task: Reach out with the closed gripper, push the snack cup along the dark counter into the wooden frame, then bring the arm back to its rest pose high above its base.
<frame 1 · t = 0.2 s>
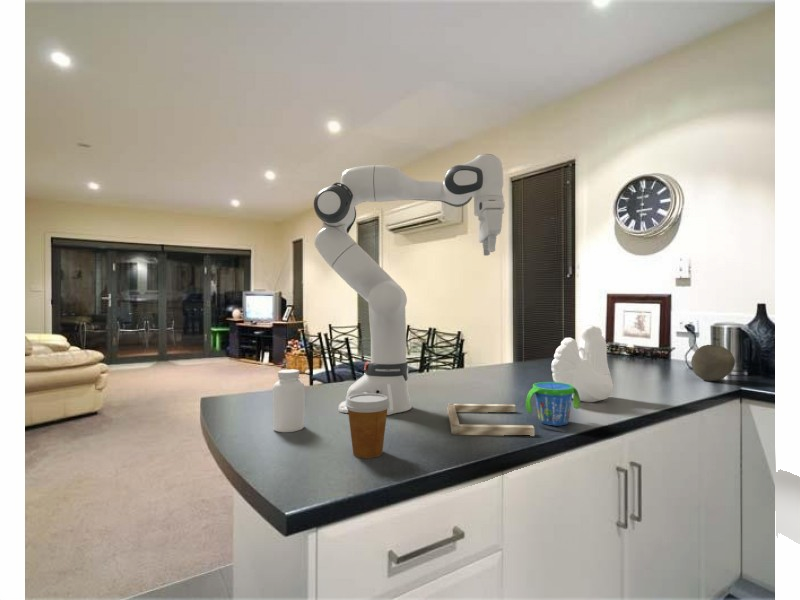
hand: (489, 253, 130), 48 cm above the counter, tool pointing down, fingers open, 8 cm apart
disposable coffee cup: (367, 454, 92), on the counter
cantaloupe: (712, 381, 176), on the counter
pill bottle: (288, 429, 110), on the counter
snack cup: (553, 423, 115), on the counter
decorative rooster: (577, 400, 142), on the counter
wooden frame: (486, 421, 116), on the counter
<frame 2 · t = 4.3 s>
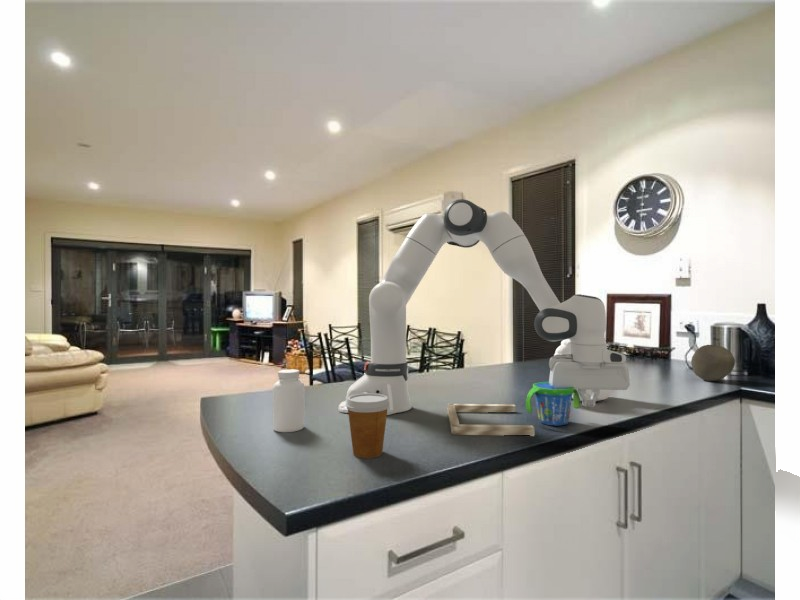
hand: (588, 405, 114), 5 cm above the counter, tool pointing down, fingers closed
snack cup: (553, 423, 115), on the counter, touching gripper
everything else where it was.
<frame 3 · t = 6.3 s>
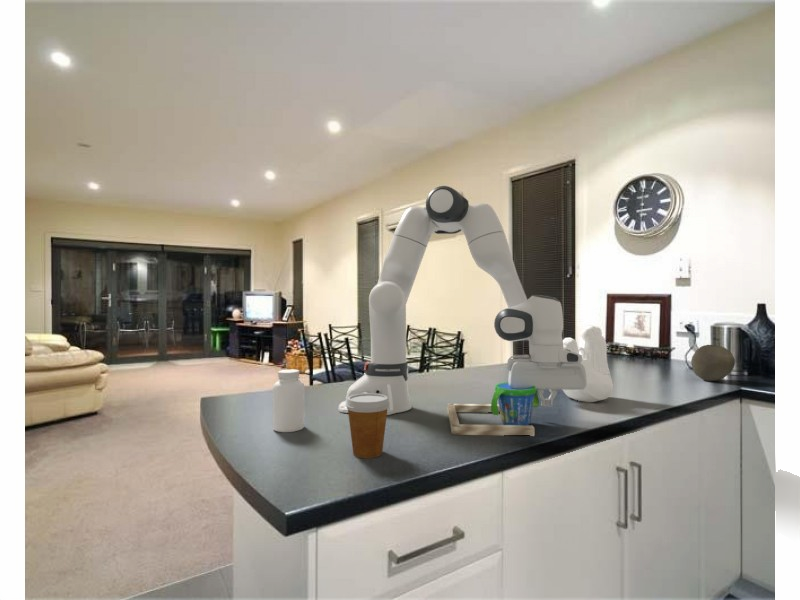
hand: (546, 405, 115), 5 cm above the counter, tool pointing down, fingers closed
snack cup: (515, 424, 114), on the counter, touching gripper
everything else where it was.
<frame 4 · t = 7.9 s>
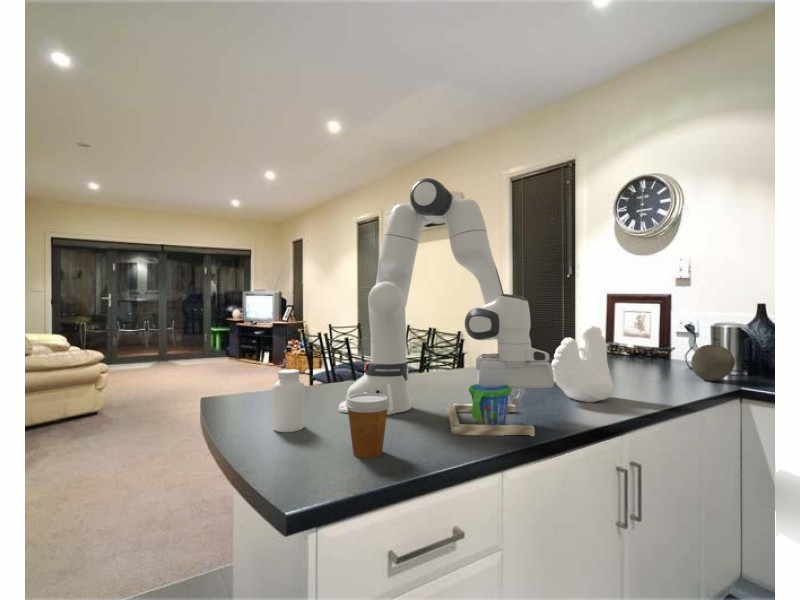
hand: (515, 404, 116), 5 cm above the counter, tool pointing down, fingers closed
snack cup: (491, 425, 113), on the counter, touching gripper
everything else where it was.
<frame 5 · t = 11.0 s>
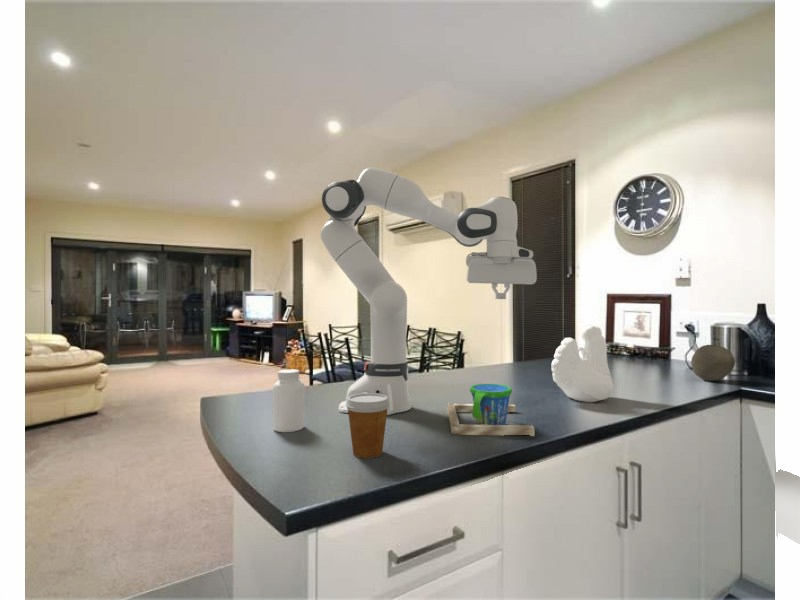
hand: (500, 299, 126), 34 cm above the counter, tool pointing down, fingers closed
snack cup: (490, 426, 113), on the counter
everything else where it was.
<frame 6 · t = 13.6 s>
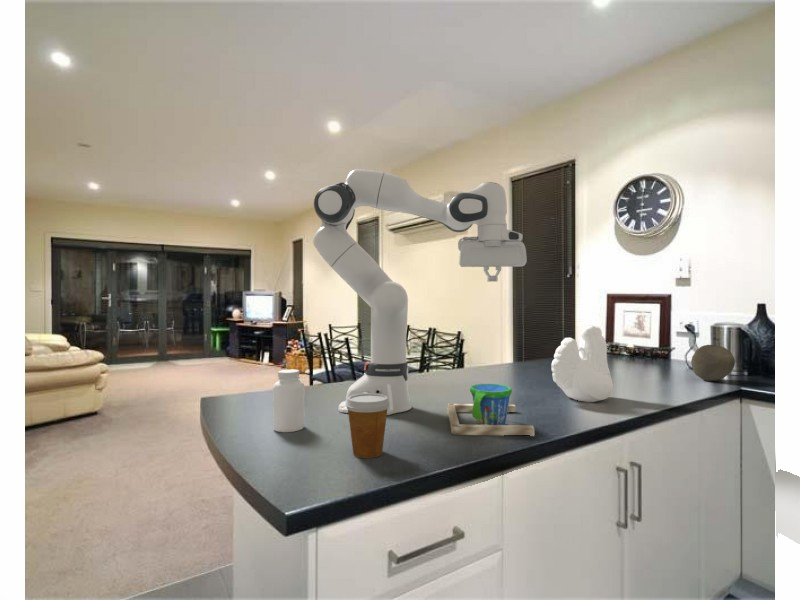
hand: (492, 281, 130), 39 cm above the counter, tool pointing down, fingers closed
nothing on the counter moved.
at the end: snack cup inside the target area on the wooden frame (3.5 cm from its centre), point 0.0 cm above the wooden frame's base; snack cup tilted 0° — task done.
